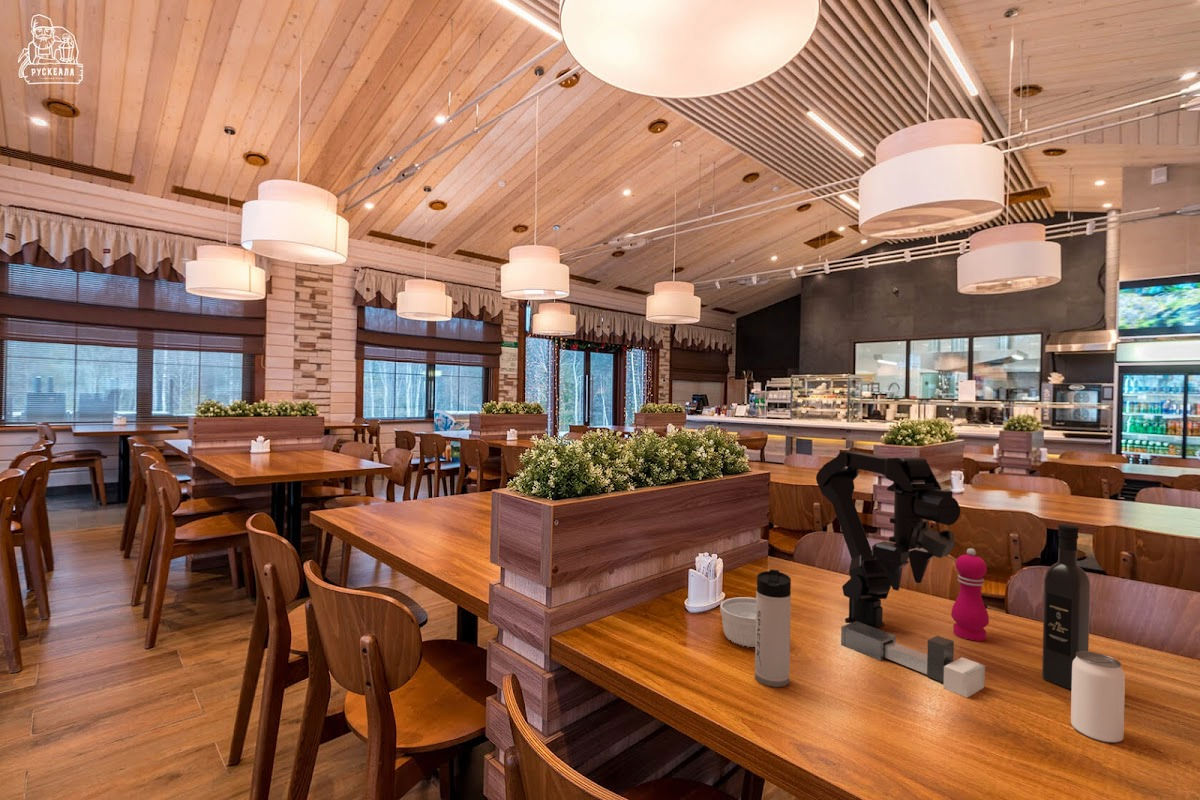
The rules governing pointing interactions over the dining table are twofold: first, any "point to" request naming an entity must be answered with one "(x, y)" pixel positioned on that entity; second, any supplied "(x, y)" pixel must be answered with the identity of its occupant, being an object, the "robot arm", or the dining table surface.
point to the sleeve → (865, 639)
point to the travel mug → (773, 628)
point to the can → (1098, 697)
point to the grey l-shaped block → (923, 656)
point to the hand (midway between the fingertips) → (907, 586)
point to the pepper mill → (970, 598)
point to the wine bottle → (1065, 611)
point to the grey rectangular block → (964, 677)
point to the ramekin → (739, 620)
